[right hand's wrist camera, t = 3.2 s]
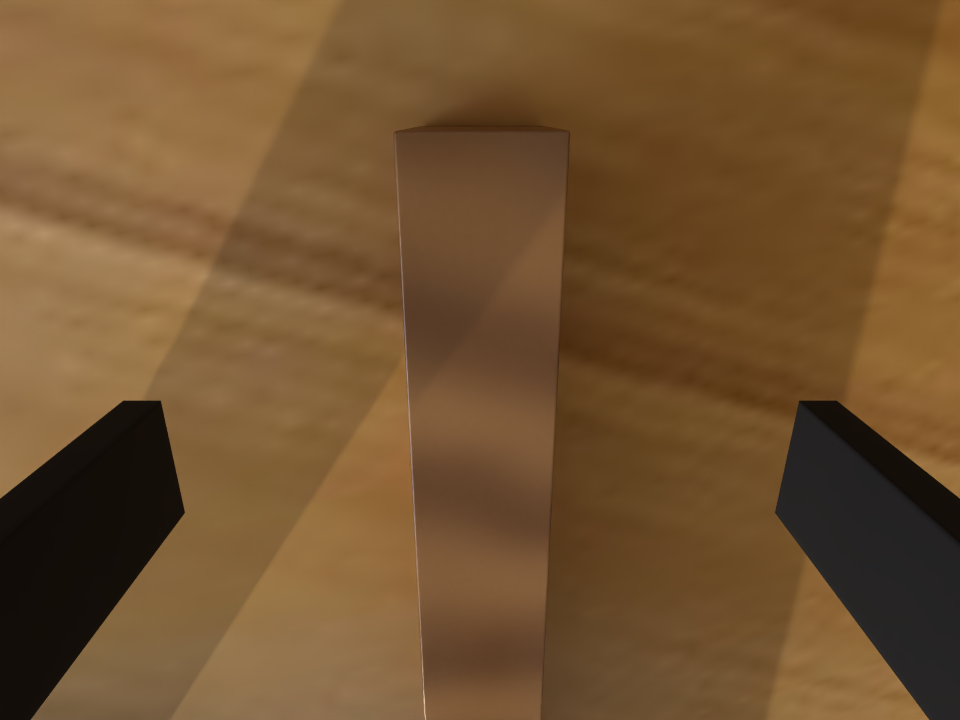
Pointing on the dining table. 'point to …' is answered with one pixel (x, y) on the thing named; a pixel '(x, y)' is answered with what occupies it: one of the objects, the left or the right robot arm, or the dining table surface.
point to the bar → (482, 403)
